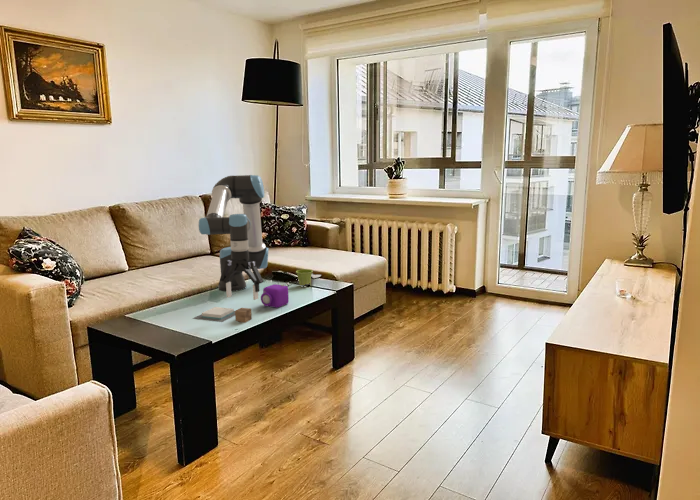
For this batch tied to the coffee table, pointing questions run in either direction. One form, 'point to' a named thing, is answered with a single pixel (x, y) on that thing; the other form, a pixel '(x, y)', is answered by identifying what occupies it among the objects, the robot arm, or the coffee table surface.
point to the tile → (217, 313)
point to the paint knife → (311, 276)
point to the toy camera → (275, 296)
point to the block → (243, 315)
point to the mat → (214, 319)
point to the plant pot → (304, 276)
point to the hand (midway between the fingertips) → (242, 297)
